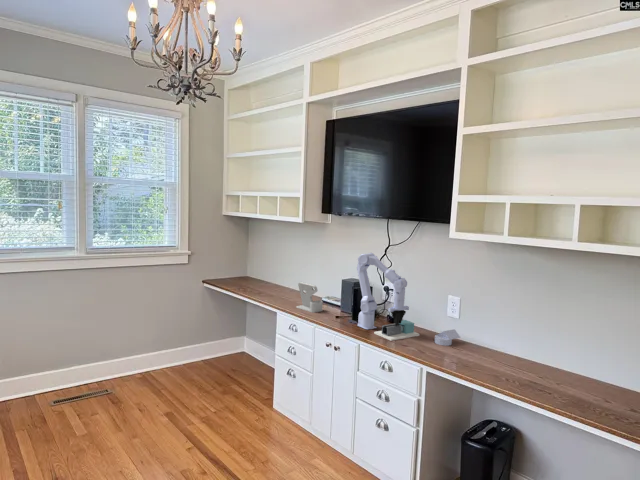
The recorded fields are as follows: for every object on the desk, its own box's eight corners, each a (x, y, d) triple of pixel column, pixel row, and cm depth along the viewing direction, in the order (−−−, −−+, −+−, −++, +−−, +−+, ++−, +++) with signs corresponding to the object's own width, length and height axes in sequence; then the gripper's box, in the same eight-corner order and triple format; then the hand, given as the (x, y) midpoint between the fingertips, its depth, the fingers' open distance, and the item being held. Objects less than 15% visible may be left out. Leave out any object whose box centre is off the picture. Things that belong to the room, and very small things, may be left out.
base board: (374, 333, 253) (374, 331, 253) (401, 328, 265) (402, 327, 265) (391, 340, 241) (391, 338, 241) (419, 335, 254) (419, 333, 254)
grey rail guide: (381, 333, 250) (382, 325, 249) (394, 331, 255) (395, 323, 255) (387, 336, 246) (388, 327, 245) (400, 333, 251) (401, 325, 251)
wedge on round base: (447, 338, 251) (430, 341, 244) (448, 327, 250) (431, 329, 244) (460, 343, 243) (443, 346, 237) (461, 331, 243) (444, 334, 236)
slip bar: (393, 330, 253) (393, 319, 253) (405, 328, 259) (406, 317, 258) (396, 332, 251) (397, 320, 250) (409, 330, 256) (410, 319, 256)
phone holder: (324, 310, 297) (325, 284, 296) (313, 313, 290) (315, 285, 288) (305, 305, 309) (307, 279, 308) (295, 307, 302) (296, 281, 300)
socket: (397, 330, 258) (397, 321, 257) (404, 329, 261) (405, 319, 261) (405, 333, 252) (406, 324, 252) (413, 332, 256) (414, 323, 255)
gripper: (394, 302, 244) (393, 326, 245) (413, 300, 252) (411, 323, 253) (386, 299, 250) (384, 323, 251) (404, 297, 258) (402, 320, 259)
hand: (397, 323), depth 252 cm, fingers closed on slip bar, 2 cm apart
